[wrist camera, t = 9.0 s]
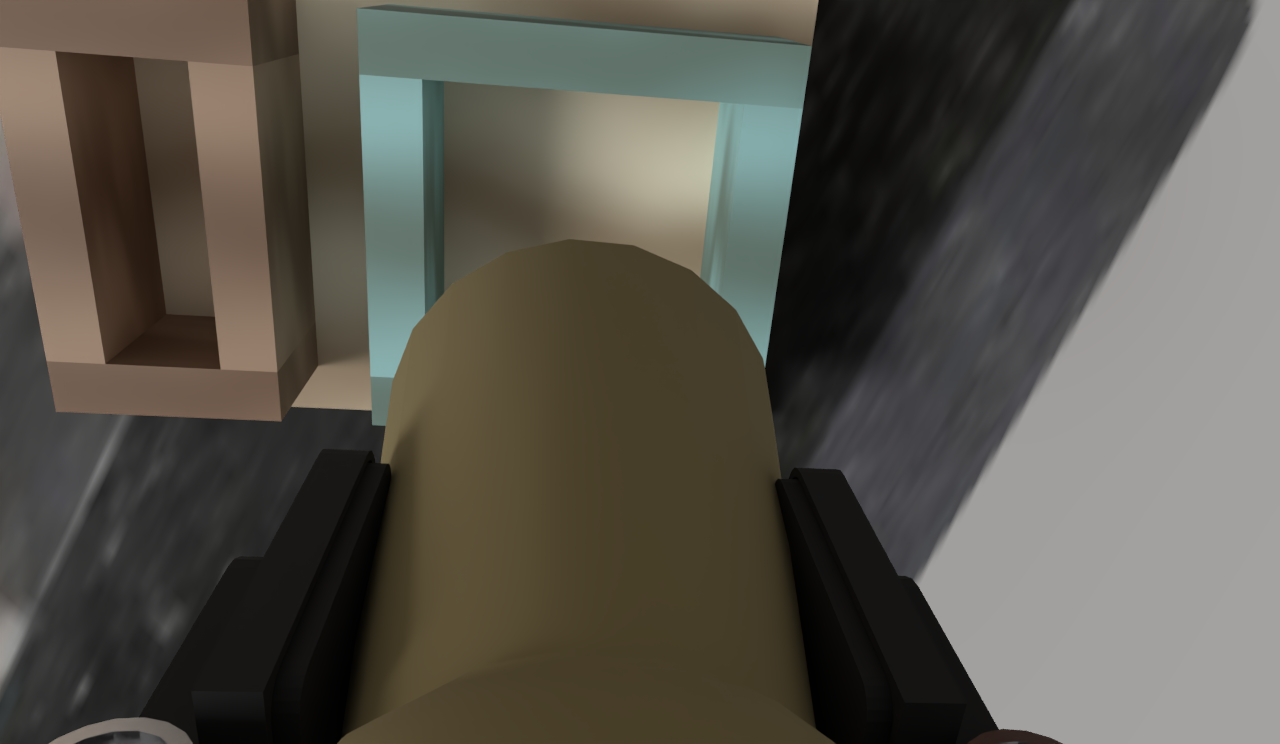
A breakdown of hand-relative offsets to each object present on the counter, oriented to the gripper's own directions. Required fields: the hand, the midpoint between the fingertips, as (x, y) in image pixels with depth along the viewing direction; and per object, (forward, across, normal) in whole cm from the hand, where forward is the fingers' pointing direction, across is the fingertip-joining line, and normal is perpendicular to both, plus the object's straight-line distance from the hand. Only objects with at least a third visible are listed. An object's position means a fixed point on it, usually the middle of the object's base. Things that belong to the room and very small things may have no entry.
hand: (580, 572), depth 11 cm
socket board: (+19, +4, 0) cm, 20 cm away
